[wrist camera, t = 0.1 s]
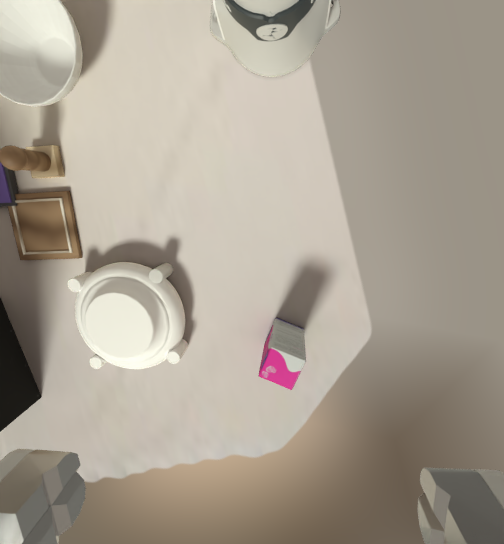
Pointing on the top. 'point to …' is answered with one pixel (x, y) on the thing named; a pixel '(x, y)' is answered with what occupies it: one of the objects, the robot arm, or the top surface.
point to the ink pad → (7, 187)
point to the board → (45, 226)
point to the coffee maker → (13, 375)
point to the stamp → (34, 160)
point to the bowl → (38, 51)
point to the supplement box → (283, 354)
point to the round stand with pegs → (130, 315)
